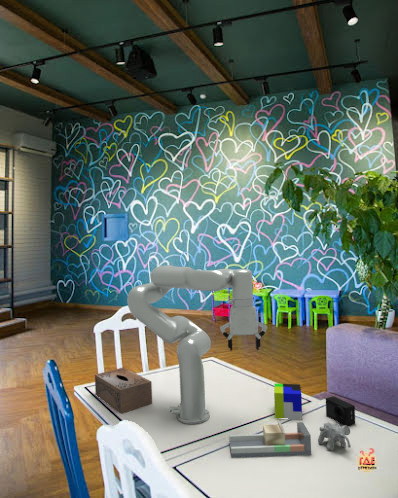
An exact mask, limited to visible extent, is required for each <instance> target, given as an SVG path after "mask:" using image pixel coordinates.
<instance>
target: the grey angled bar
mask: <svg viewBox="0 0 398 498" xmlns="http://www.w3.org/2000/svg"><path fill="white" fill-rule="evenodd" d="M296 424H297V425H296V427H297V428H296V429H297V431H296V433H298V439H299V441H300V443H301V444H304V448H305V451H311V452H312V441H311V439H312V437H311V436H312V435H311V433H310V432H309V430H308V429H307V426H306V425H305V423H304V422H303V421H300V422H296Z"/></svg>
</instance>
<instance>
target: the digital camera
mask: <svg viewBox="0 0 398 498" xmlns="http://www.w3.org/2000/svg"><path fill="white" fill-rule="evenodd" d="M325 414H326V415H325V416H326V417H328V418H329V419H331V420H333V421H335V422H336V423H338V424H339V425H342V426H344V425H346V426H348V427H351V426H354V425H356V406H355V405H354V404H351V403H349V402H348V401H345V400H344V399H341V398H339V397H336V396H330V397H329V396H328V397H326V398H325Z"/></svg>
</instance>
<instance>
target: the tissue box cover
mask: <svg viewBox="0 0 398 498" xmlns="http://www.w3.org/2000/svg"><path fill="white" fill-rule="evenodd" d="M94 386H95V387H94V389H95V391H94V392H95V396H96V395H97V396H98V397H100V398H101V399H102V400H104V401H105V402H106V403H105V402H104V401H103V402H104V403H105V404H107V403H108V404H109V405H110V406H109V405H108V404H107V405H108V406H109V407H111V408H112V409H114V410H115V411H116V412H117V413H119V414H121V415H123V414H126V413H128V412H133V411H135V410H138V409H142V408H145V407H148V406H150V405H153V391H152V390H153V389H152V388H153V387H152V386H153V385H152V380H149V378H146V377H143V376H142V375H140V374H138V373H136V372H133V371H132V370H130V369H128V368H125V367H120V368H116V369H115V368H114V369H113V370H109V371H104V372H99V373H96V374H94ZM97 396H96V397H97ZM98 397H97V398H98ZM101 399H100V400H101ZM102 400H101V401H102Z"/></svg>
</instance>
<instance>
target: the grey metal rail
mask: <svg viewBox="0 0 398 498" xmlns="http://www.w3.org/2000/svg"><path fill="white" fill-rule="evenodd" d="M285 433H286V435H285V445H270V446H265V443H264V440H263V433H251V434H249V433H246V434H229V436H228V438H229V439H228V440H229V442H230V443H229V449H230V455H231V458H232V459H233V458H235V459H237V458H259V457H260V458H261V457H294V456H311V455H312V450H311V451H305V448H304V444H301V443H300V441H299V439H298V433H297V432H285Z"/></svg>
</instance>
